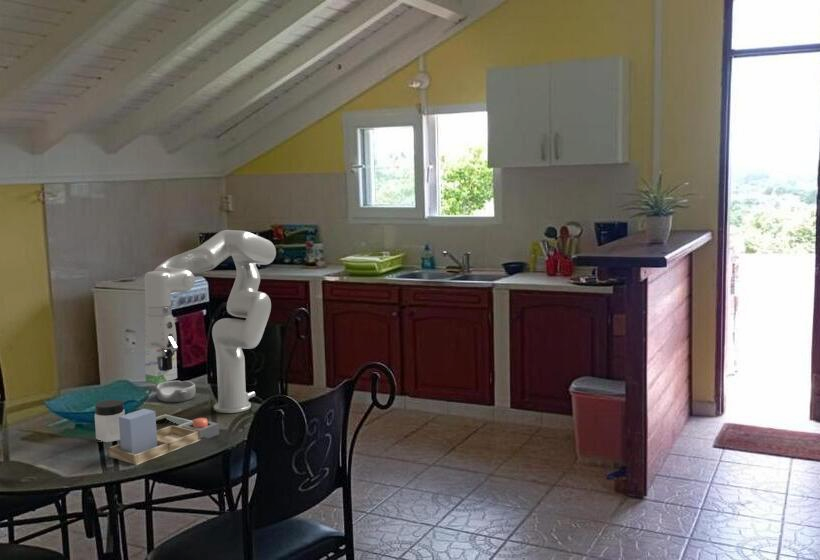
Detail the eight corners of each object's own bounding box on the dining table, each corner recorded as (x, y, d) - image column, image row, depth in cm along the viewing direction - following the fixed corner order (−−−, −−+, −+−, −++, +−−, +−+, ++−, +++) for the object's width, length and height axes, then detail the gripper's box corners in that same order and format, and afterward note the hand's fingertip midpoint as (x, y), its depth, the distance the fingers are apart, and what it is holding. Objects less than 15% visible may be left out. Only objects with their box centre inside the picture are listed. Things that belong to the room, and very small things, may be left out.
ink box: (167, 376, 265) (165, 340, 263) (178, 378, 262) (176, 342, 260) (145, 382, 258) (143, 345, 256) (156, 385, 255) (154, 347, 253)
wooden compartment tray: (172, 436, 262) (171, 424, 261) (201, 443, 255) (200, 431, 254) (107, 459, 242) (106, 447, 241) (137, 468, 235) (136, 456, 234)
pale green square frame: (165, 419, 278) (165, 414, 277) (194, 426, 270) (193, 420, 270) (132, 431, 266) (131, 425, 266) (160, 439, 259) (160, 432, 259)
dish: (190, 403, 296) (189, 389, 296) (151, 403, 297) (150, 390, 296) (200, 391, 311) (200, 378, 310) (163, 392, 311) (163, 379, 310)
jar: (99, 447, 252) (97, 409, 250) (93, 440, 259) (90, 402, 257) (129, 441, 257) (127, 404, 255) (122, 434, 263) (120, 398, 262)
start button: (200, 429, 265) (200, 417, 264) (210, 431, 262) (210, 419, 262) (190, 433, 261) (189, 420, 260) (200, 435, 259) (199, 423, 258)
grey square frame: (201, 429, 267) (200, 419, 267) (219, 434, 263) (218, 423, 263) (182, 437, 261) (181, 426, 260) (200, 441, 256) (199, 430, 256)
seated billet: (146, 447, 248) (144, 408, 247) (157, 450, 246) (155, 411, 244) (121, 456, 241) (118, 416, 239) (132, 459, 238) (130, 419, 236)
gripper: (186, 312, 255) (189, 370, 258) (151, 306, 265) (153, 362, 267) (167, 316, 249) (169, 375, 251) (131, 310, 259) (133, 367, 261)
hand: (161, 368), depth 259 cm, fingers closed on ink box, 5 cm apart
